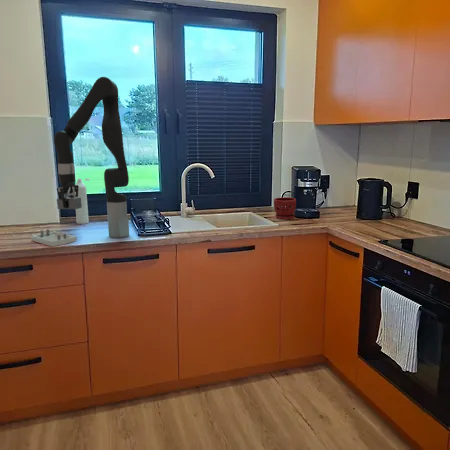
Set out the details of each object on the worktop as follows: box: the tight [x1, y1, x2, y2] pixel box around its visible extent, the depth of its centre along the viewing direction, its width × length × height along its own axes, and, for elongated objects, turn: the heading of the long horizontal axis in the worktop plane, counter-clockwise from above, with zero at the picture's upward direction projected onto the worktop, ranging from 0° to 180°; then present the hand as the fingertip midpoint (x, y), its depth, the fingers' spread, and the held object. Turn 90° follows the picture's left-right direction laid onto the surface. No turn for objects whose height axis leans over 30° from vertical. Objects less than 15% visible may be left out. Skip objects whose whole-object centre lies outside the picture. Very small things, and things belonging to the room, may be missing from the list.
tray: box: [30, 228, 77, 247], centre depth 195 cm, size 18×12×4 cm, turn 52°
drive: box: [56, 196, 82, 210], centre depth 205 cm, size 10×5×5 cm, turn 80°
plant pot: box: [273, 196, 297, 221], centre depth 247 cm, size 13×13×12 cm
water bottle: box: [75, 177, 91, 225], centre depth 232 cm, size 9×6×25 cm
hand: (69, 207), depth 205 cm, fingers closed on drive, 5 cm apart
